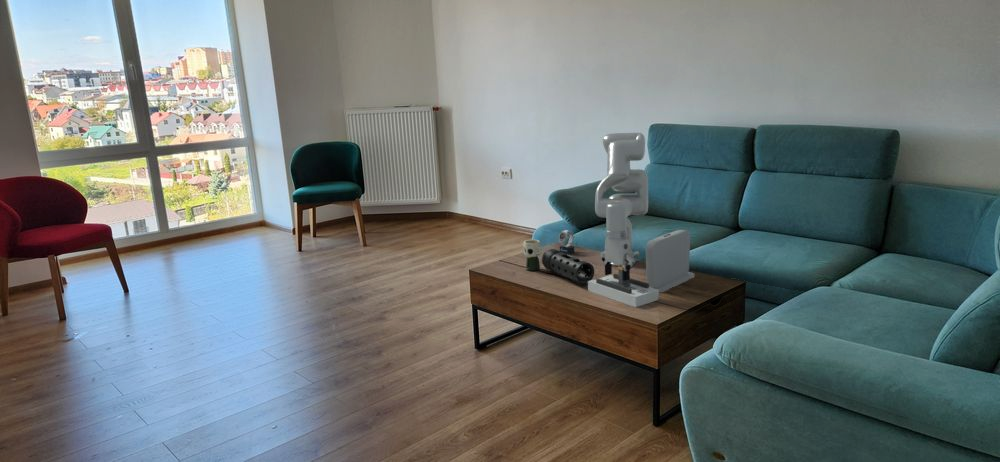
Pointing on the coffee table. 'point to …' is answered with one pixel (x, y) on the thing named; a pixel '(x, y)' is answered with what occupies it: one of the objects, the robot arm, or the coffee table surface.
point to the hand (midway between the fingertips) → (617, 277)
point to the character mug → (532, 253)
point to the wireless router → (668, 260)
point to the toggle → (621, 282)
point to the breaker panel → (633, 299)
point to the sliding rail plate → (621, 288)
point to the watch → (562, 238)
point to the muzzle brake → (568, 266)
